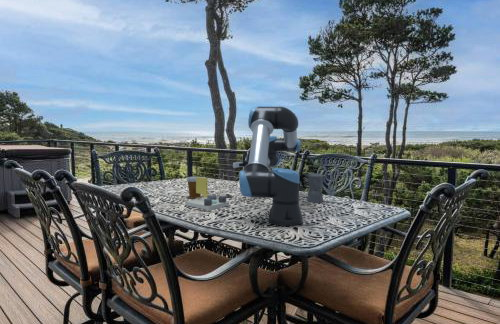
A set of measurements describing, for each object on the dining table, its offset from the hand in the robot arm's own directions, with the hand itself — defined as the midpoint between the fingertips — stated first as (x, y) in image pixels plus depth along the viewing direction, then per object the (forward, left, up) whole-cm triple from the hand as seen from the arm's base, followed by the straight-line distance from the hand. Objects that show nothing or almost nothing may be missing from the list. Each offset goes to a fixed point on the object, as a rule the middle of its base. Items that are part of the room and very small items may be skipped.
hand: (234, 165), depth 198 cm
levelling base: (+5, +16, -21) cm, 27 cm away
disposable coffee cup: (+28, +4, -21) cm, 35 cm away
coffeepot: (-32, -32, -21) cm, 50 cm away
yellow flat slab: (+9, +13, -19) cm, 25 cm away
